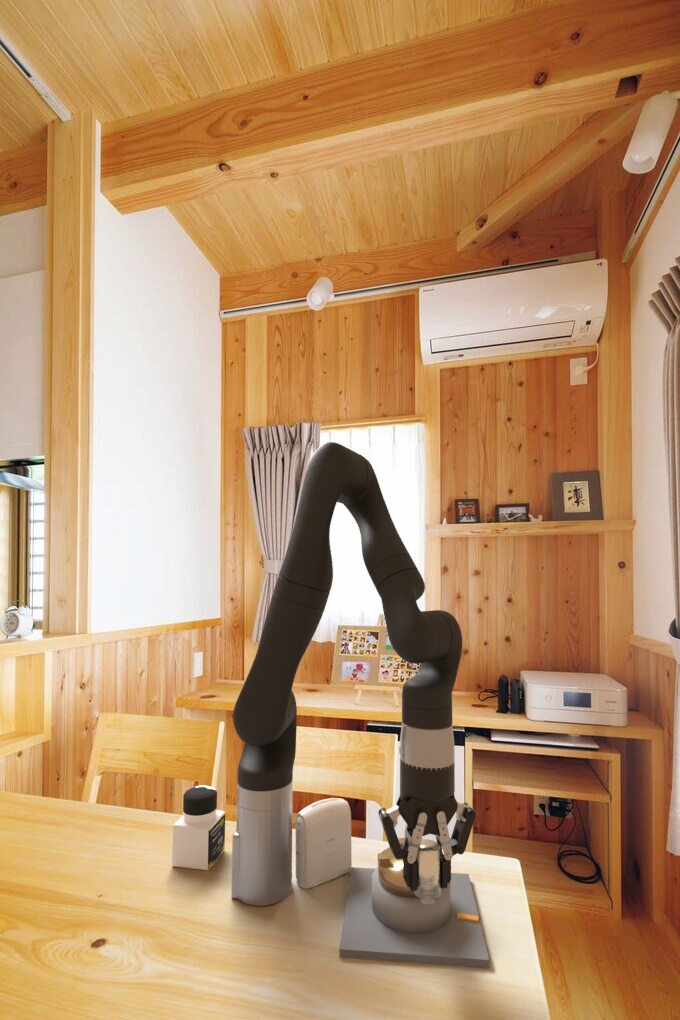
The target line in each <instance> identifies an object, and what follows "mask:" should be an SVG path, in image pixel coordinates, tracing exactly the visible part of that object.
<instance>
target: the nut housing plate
mask: <svg viewBox="0 0 680 1020" xmlns="http://www.w3.org/2000/svg"><path fill="white" fill-rule="evenodd" d="M349 872H350V874H349V881H348V887H347V894H346V900H345V901H346V902H345V909H344V915H343V922H342V931H341V937H340V944H339V957H340V958H347V959H349V958H350V959H361V960H362V959H363V960H364V959H365V960H375V961H387V962H388V961H389V962H402V963H416V964H417V963H418V964H429V965H431V964H432V965H443V966H457V967H468V968H469V967H470V968H471V967H473V968H483V969H484V968H486V969H489V968H490V958H489V954H488V951H487V945H486V942H485V938H484V933H483V928H482V925H481V921H480V917H479V912H478V908H477V904H476V900H475V895H474V891H473V886H472V883H471V878H470V874H469V873H460V872H459V873H455V872H451V881H450V883H447V888H443V889H442V888H441V895H440V897H439V898H438V899H436V900H435V904H422V903H421V901H420V898H409V897H403V896H399V895H396V894H394V893H391V892H390V891H388V890H386V889H385V888H384V887H383V886H382V885H381V883H380V882H379V879H378V866H377V867H376V868H372V867H371V868H370V867H367V868H365V867H352V866H351V870H350V871H349Z"/></svg>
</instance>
